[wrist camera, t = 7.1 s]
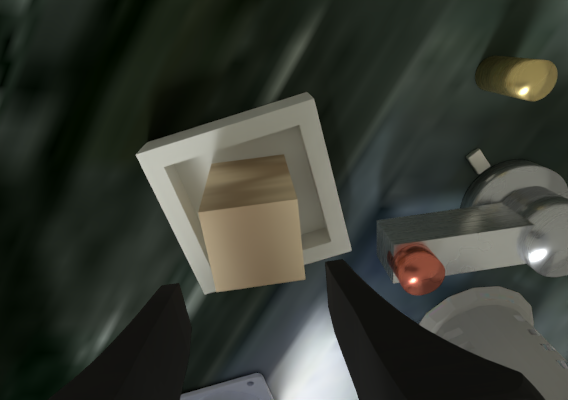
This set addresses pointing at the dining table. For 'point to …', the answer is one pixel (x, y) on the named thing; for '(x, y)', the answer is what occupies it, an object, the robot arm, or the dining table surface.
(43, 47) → the dining table surface
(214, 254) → the block
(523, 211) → the crank
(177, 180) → the tray
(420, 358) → the robot arm
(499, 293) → the french press
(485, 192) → the crank base
